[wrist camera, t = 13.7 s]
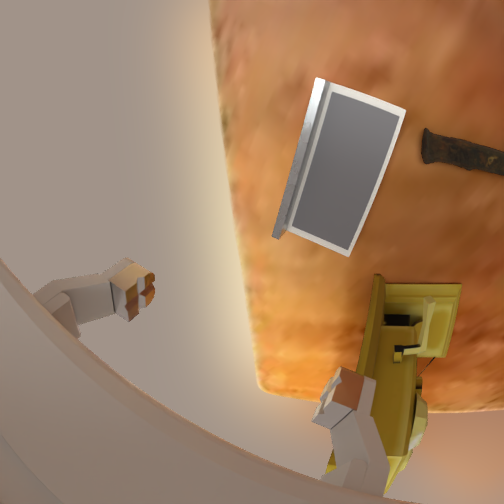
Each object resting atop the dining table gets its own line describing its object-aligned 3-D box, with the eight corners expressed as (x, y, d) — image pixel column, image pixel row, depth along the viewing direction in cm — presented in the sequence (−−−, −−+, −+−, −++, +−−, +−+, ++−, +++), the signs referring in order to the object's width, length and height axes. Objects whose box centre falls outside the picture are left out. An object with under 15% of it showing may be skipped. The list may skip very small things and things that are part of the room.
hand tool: (418, 157, 31) (422, 166, 27) (421, 126, 28) (427, 132, 25) (535, 191, 24) (549, 205, 20) (542, 163, 22) (557, 175, 18)
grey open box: (403, 110, 29) (408, 110, 24) (352, 244, 40) (345, 268, 35) (327, 82, 31) (316, 77, 26) (288, 217, 43) (271, 236, 37)
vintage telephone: (435, 387, 44) (415, 531, 21) (369, 385, 51) (326, 524, 27) (466, 239, 32) (523, 443, 8) (373, 240, 39) (322, 445, 15)
